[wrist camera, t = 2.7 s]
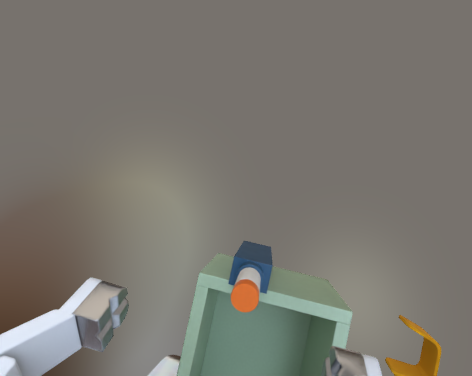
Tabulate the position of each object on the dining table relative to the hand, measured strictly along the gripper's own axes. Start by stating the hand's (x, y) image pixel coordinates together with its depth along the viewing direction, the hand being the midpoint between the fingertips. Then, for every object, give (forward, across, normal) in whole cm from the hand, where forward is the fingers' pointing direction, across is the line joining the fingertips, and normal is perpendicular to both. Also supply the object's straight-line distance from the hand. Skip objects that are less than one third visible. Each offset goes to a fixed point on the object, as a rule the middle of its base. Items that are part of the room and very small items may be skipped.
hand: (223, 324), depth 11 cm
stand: (+8, -4, +42) cm, 43 cm away
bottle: (+17, -1, +16) cm, 23 cm away
